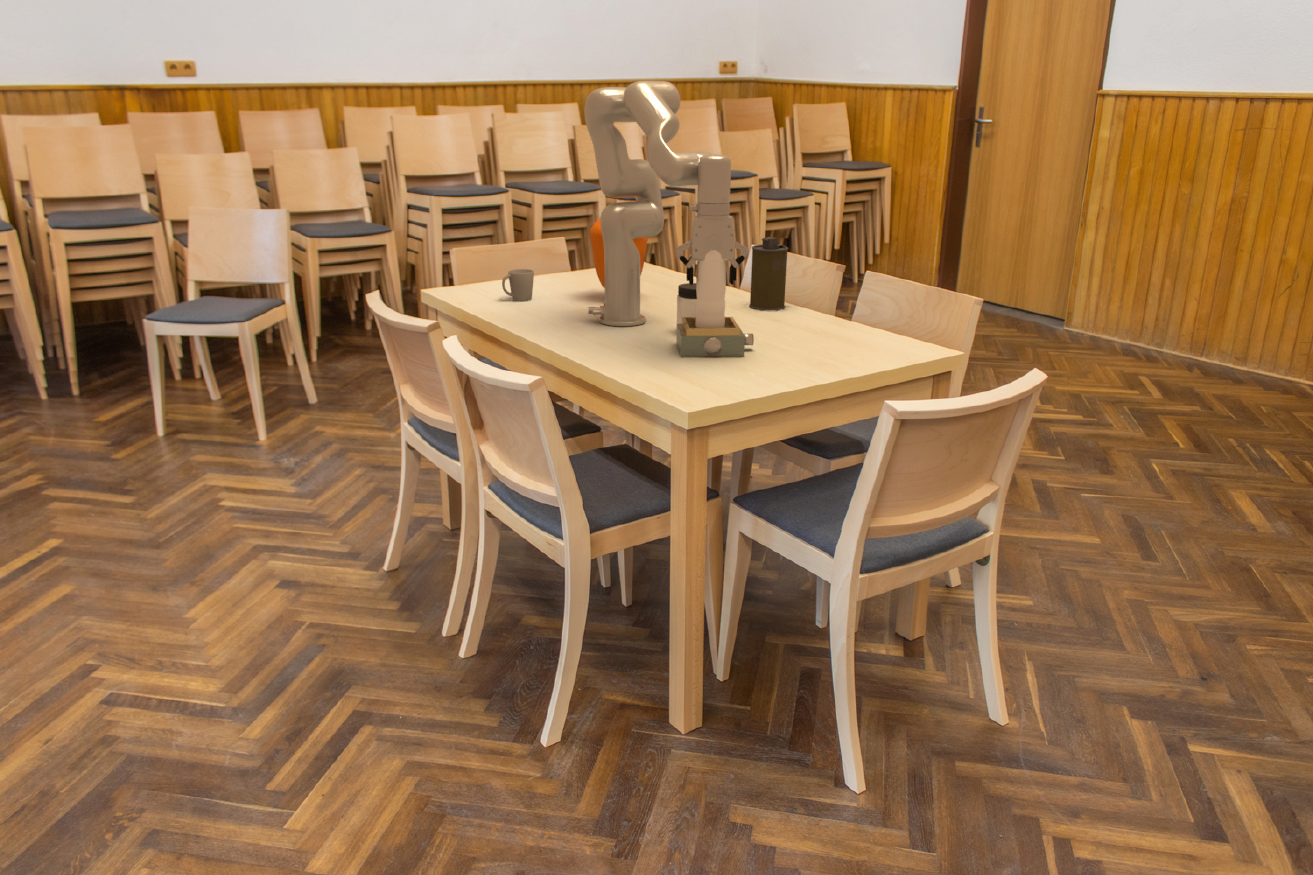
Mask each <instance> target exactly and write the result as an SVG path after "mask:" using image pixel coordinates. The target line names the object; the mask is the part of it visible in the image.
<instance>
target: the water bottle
mask: <svg viewBox="0 0 1313 875" xmlns="http://www.w3.org/2000/svg"><path fill="white" fill-rule="evenodd" d="M726 261H727V260H726ZM726 261H723V260H722V256H721V254H720V253H719V252H717V251H716V250H711V251H710V252H708V253H707V254H706V255H705V260H703V261H699V260H697V261H696V262H697V264H696V292H697V300H696V321H695V326H696V328H724V327H725V317H726V316H725V312H726V299H725V297H726V289H727V287H726V286H727V264H726Z"/></svg>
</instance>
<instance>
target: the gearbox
mask: <svg viewBox="0 0 1313 875" xmlns="http://www.w3.org/2000/svg"><path fill="white" fill-rule="evenodd" d="M695 321H696V317H682V324H677V323H676V333H675V334H676V337H675V338H676V342H675V344H676V347H677V350H678V353H679V355H680V357H681V358H697V357H698V358H701V357H702V358H707V357H709V358H710V357H711V358H715V357H717V358H718V357H719V358H721V357H722V358H723V357H729V358H730V357H732V358H733V357H734V358H735V357H745V346H754V337H755V336H754V333H744V332H743V330H742V329H741V327H740V326H739V325H738V323H737V321H736V320H735V319H734V317H733V316H725V327H724V328H696V326H695Z"/></svg>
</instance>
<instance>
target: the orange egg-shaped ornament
mask: <svg viewBox="0 0 1313 875" xmlns="http://www.w3.org/2000/svg"><path fill="white" fill-rule="evenodd" d="M589 237H590V243H591V248H592V259H593V264H594V268H595V272H596V276H597V279H598V280H599V282H600V285H601V286H602V287H603V288H604V289H605V264H604V242H603V235H602V230H601V225H600V217H599V218H598V219H597V220H596V221H595V222H594V224H593V225H592V226H591V228H590V230H589ZM648 239H649V237H644V238H635V239H633V242H634V244H635V246H636V247H637V249H638V251H639V254H640V277H641V275H642V272H643V269H644V264H645V259H646V254H647V253H646V251H647V245H648Z"/></svg>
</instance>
